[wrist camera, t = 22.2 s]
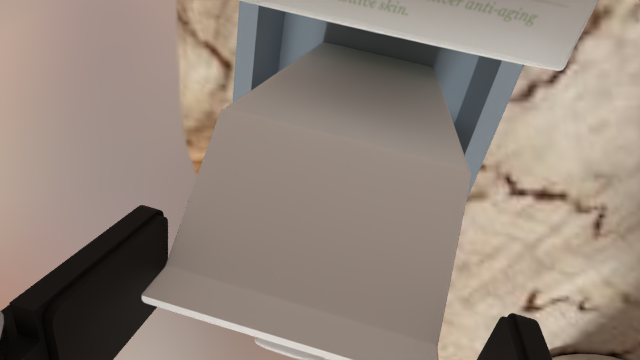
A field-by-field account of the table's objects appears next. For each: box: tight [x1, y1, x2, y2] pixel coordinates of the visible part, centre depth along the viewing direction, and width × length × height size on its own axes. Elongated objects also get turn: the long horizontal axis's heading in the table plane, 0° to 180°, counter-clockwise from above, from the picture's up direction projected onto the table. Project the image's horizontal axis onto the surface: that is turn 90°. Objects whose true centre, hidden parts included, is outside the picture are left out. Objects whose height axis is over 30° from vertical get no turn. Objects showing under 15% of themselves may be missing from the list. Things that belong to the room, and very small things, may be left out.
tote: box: [233, 1, 524, 200], centre depth 21 cm, size 14×22×6 cm, turn 170°
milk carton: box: [141, 42, 471, 360], centre depth 17 cm, size 7×7×19 cm
